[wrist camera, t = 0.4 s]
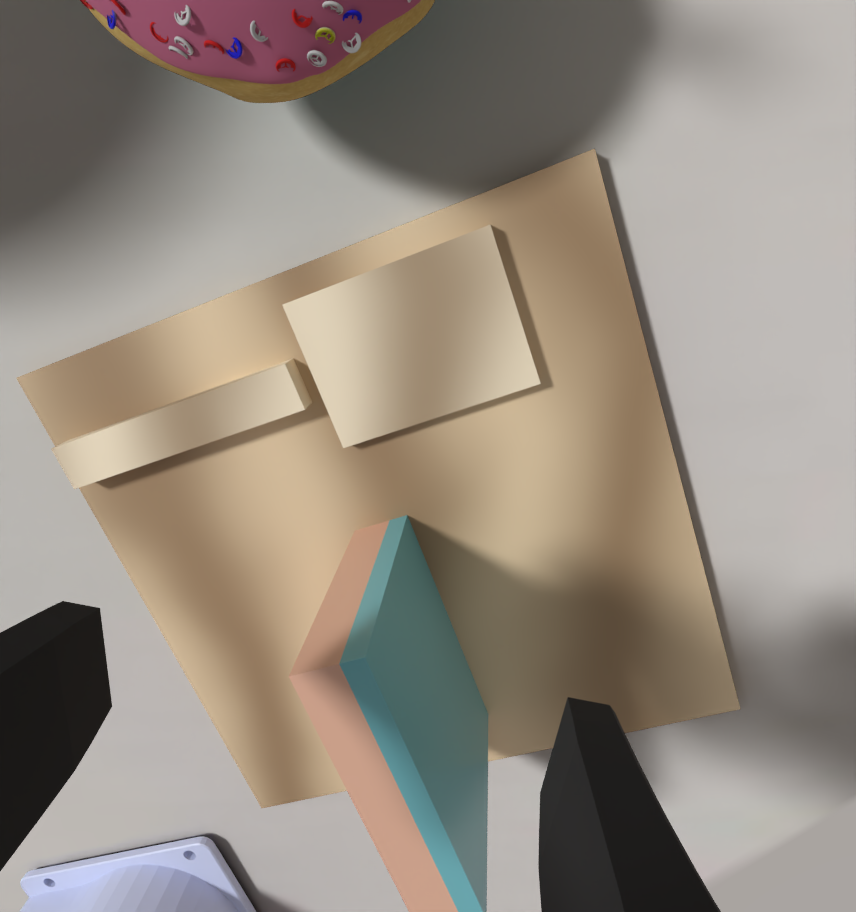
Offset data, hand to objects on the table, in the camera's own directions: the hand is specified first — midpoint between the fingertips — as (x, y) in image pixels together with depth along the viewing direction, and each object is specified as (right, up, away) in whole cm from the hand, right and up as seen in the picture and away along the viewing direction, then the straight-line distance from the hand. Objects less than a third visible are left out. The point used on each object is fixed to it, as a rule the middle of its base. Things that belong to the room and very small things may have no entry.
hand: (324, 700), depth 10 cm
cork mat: (0, +1, +11) cm, 11 cm away
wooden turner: (-3, +6, +9) cm, 11 cm away
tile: (+1, -2, +12) cm, 12 cm away
